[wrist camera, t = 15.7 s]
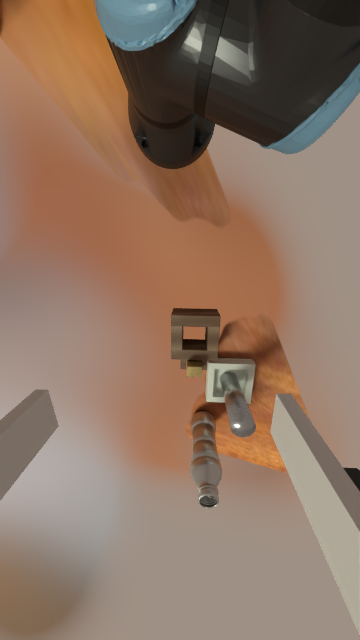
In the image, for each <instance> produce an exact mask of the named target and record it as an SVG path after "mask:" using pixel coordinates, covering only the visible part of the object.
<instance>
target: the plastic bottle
mask: <svg viewBox="0 0 360 640" xmlns="http://www.w3.org/2000/svg"><path fill="white" fill-rule="evenodd" d="M191 431H192V437H193V454H192V461H191V469H190V473H191V477H192V479H193V481H194V483H195V484H196V485H197V487H198V490H197V493H198V501H199V504H200V505H201V506H202V507H204V508H214V507H216V506H217V505H218V504H219V498H218V489H217V486H218V484H219V482H220V480H221V476H222V468H221V464H220V460H219V457H218V453H217V447H216V440H215V431H216V422H215V419H214V417H213V415H211V414H210V413H209V412H206V411H199V412H197V413H195V414H194V415H193V417H192V419H191Z"/></svg>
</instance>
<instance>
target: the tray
mask: <svg viewBox="0 0 360 640" xmlns="http://www.w3.org/2000/svg"><path fill="white" fill-rule="evenodd" d="M255 366H256V364H255V363H254V361H253V359H239V358H217V361H213V360H208V362H207V377H206V402H224V403H225V401H224V396H223V392H222V388H221V384H220V376H221V375H222V374H223V373H225V372H233V373H235V374H236V376H237V378H238V381H239V384H240V386H241V389H242V391H243V394H244V397H245V399H246V402H247V403H248V404H250V403H251V395H252V388H253V381H254V374H255Z"/></svg>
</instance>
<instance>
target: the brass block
mask: <svg viewBox="0 0 360 640" xmlns="http://www.w3.org/2000/svg"><path fill="white" fill-rule="evenodd" d="M201 370H202V365H201V360H187V377H201V372H202V371H201Z"/></svg>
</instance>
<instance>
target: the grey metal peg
mask: <svg viewBox="0 0 360 640" xmlns="http://www.w3.org/2000/svg"><path fill="white" fill-rule="evenodd" d="M220 384H221V388H222V392H223V396H224V401H225V405H226V409H227V413H228V418H229V422H230V426H231V430H232V432H233V433H234V434H235V435H236V436H239V437H247V436H250V435H251V434H253V433H254V431H255V429H256V425H255V422H254V420H253V417H252V415H251V412H250V409H249V407H248V404H247V402H246V399H245V397H244V394H243V391H242V389H241V386H240V384H239V381H238V378H237V376H236V374H235V373H233V372H225V373H223V374H222V375H221V376H220Z"/></svg>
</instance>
